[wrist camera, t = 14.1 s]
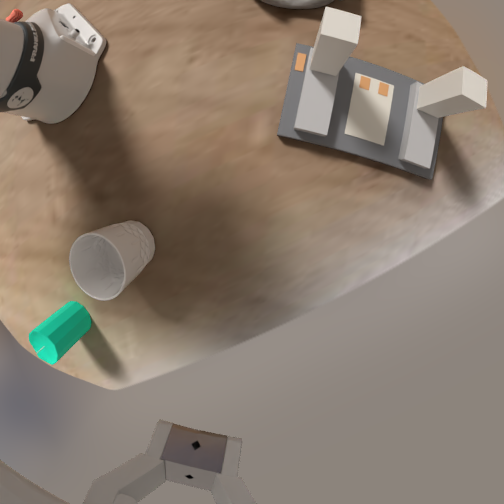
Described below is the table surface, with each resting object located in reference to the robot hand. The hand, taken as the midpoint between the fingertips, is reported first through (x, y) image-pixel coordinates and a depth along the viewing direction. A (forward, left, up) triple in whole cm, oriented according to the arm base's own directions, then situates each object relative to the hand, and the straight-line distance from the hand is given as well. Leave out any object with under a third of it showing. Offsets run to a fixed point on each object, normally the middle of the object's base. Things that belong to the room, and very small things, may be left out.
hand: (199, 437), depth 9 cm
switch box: (-8, +19, -30) cm, 36 cm away
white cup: (-7, -16, -30) cm, 35 cm away
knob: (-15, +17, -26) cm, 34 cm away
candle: (-2, -34, -30) cm, 45 cm away
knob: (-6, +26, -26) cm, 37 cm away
